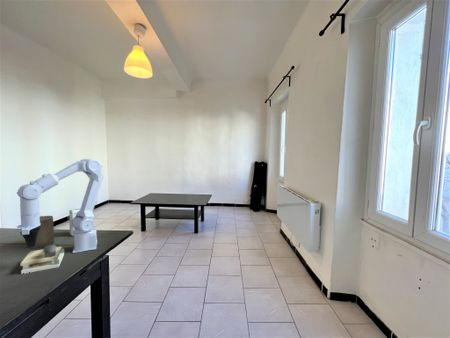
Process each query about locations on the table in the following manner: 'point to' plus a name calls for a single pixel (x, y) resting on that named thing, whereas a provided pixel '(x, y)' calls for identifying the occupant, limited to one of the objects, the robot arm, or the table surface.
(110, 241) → the table surface
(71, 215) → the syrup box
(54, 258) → the plate
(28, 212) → the robot arm
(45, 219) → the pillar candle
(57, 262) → the stand
